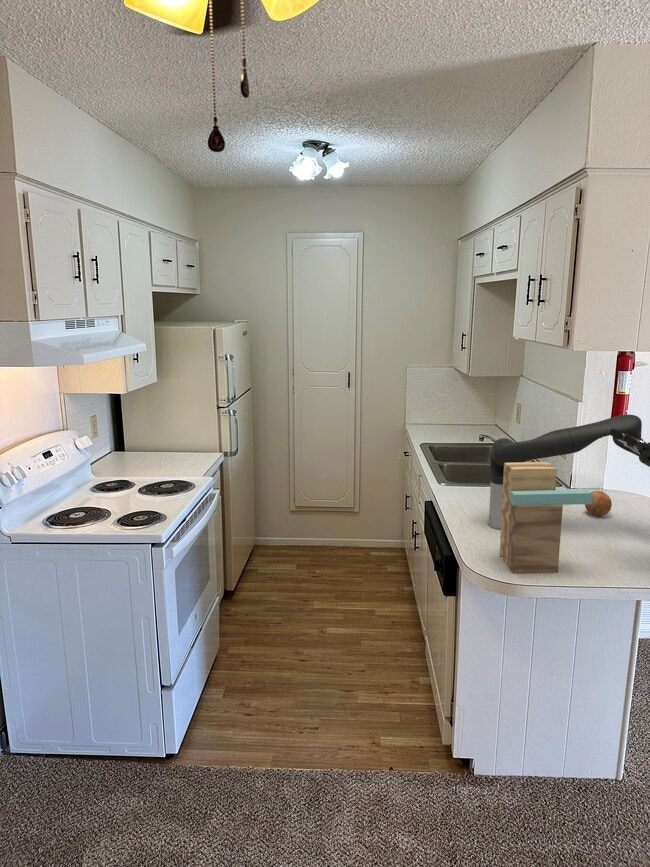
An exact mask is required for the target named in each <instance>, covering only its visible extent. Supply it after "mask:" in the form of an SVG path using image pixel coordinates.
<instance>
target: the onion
mask: <svg viewBox="0 0 650 867" xmlns="http://www.w3.org/2000/svg"><path fill="white" fill-rule="evenodd" d="M590 492H591V493H592V503H591V504H584V506H585V509H586V511H587V512H589V514H591V515H592V516H595V515H596V517H602V516H606V515H607V514H608V513H610V511H611V510H612V507H613V504H612V499H611V498H610V496H609V495H608V494H607V493H606V492H604V491H602V490H593V491H590Z"/></svg>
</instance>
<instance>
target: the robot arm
mask: <svg viewBox="0 0 650 867" xmlns="http://www.w3.org/2000/svg"><path fill="white" fill-rule="evenodd" d="M642 426H643V422H642V419H641V418H640V417H639V416H637V415H635V414H620V415H615V416H613V417H609V418H607V419H603V420H600V421H599V420H598V421H596V422H592V423H587V424H583V425H578V426H574V427H573V426H571V427H566V428H560V429H556V430H552V431H549V432H546V433H544V434H541V435H540V436H538V437H535V438H532V439H530V440H529V439H528V440H524V441H523V440H522V441H513V440H511V439H509V438H506V437H502V438H499V439H497V440H495V441H494V442H493V444H492V446H491V448H490V466H489V467H490V470H489V473H490V488H489V507H488V509H489V510H488V512H489V513H488V526H489V527H491V528H494V529H496V530H497V529H498V530H501V516H502V496H503V477H504V463H518V462H530V461H533V460H538V459H545V458H552V457H558V456H566V455H571V454H575V453H578V452H581V451H582V450H584V449H586V448H587V447H589V446H590V445H592V444H593V443H594V442H596V441H598V440H599V439H602V438H605V437H609V436H611V437H612V441H613V443H614V444H615V445H616V446H617V447H619V448H621V449H622V450H625V451H627V452H629V453H631V454H633V455H635V456H637V457H638V460H639V462H640V463H642V464H643V465H645V466H647V467H649V468H650V441H649V442H646V441H645V440H644V439H643V438H642V428H643V427H642Z"/></svg>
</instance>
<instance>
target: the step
mask: <svg viewBox="0 0 650 867" xmlns="http://www.w3.org/2000/svg"><path fill="white" fill-rule="evenodd" d="M563 506H564V505H521V506H513V505H511V524H510V542H509V560H508V565H507V567H508V568H509V570H510V569H511V570H510V571H511V573H512V574H545V573H546V574H547V573H548V574H550V573H553V574H555V573H559V564H560V560H559V559H560V549H561V533H562V520H563Z"/></svg>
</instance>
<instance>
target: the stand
mask: <svg viewBox="0 0 650 867" xmlns="http://www.w3.org/2000/svg"><path fill="white" fill-rule="evenodd" d="M557 475H558V468H557V467H556V466H554V465H552V464H551V463H549V462H548V461H526V462H518V463H504V477H503V496H502V516H501V529H500V539H499V557H500V558H501V557H502V558H503V559H502V558H501V559H502V560H503V561H505V562H504V563H505V564H506V566H508V560H509V542H510V524H511V505H512V504H511V503H510V491H547V490H557V489H556V488H557Z"/></svg>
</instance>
